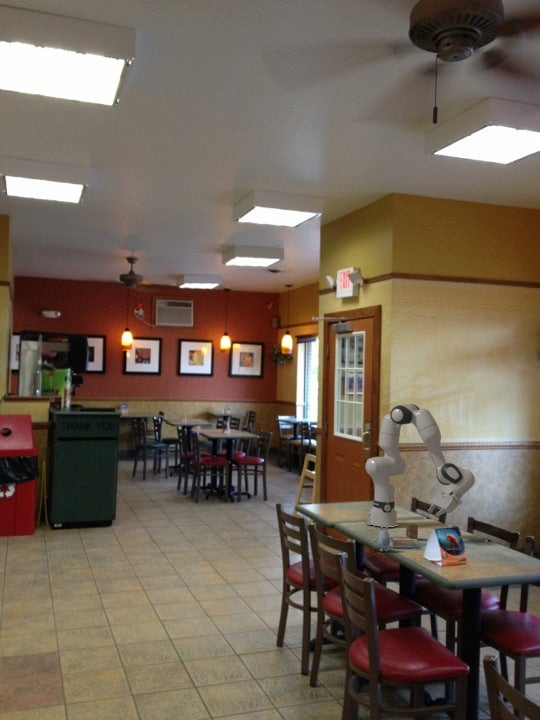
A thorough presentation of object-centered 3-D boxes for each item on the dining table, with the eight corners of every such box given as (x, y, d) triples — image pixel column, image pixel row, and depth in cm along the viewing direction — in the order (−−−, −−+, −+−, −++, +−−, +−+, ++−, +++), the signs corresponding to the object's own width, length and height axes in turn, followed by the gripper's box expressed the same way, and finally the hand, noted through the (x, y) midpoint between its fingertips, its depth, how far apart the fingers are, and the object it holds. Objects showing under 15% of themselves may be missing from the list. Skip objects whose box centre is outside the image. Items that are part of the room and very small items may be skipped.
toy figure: (375, 552, 312) (376, 527, 313) (370, 549, 318) (371, 524, 319) (396, 552, 314) (397, 527, 315) (391, 549, 320) (392, 524, 321)
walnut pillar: (405, 538, 346) (406, 523, 346) (413, 538, 347) (414, 523, 347) (409, 540, 341) (409, 524, 342) (417, 540, 342) (418, 525, 342)
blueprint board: (379, 541, 337) (379, 538, 337) (409, 541, 340) (409, 539, 340) (390, 548, 321) (390, 546, 321) (421, 549, 324) (421, 546, 324)
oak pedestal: (385, 540, 333) (386, 534, 333) (404, 541, 335) (404, 534, 335) (393, 545, 323) (393, 539, 323) (412, 546, 325) (412, 539, 325)
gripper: (438, 488, 358) (420, 505, 356) (455, 494, 338) (437, 513, 336) (446, 496, 359) (428, 514, 357) (463, 503, 339) (445, 522, 337)
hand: (432, 514), depth 346 cm, fingers open, 8 cm apart
